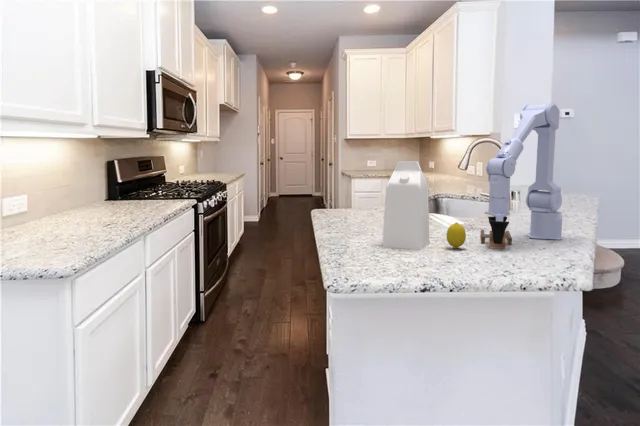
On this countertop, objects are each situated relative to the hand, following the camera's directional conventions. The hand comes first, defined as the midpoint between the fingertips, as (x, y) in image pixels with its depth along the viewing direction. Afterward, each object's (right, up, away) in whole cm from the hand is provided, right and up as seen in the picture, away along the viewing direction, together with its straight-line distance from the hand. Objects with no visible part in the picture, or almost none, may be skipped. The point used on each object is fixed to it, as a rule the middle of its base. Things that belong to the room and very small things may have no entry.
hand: (497, 241), depth 148 cm
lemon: (-14, -2, -4) cm, 14 cm away
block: (0, -2, 0) cm, 2 cm away
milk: (-28, -1, +3) cm, 28 cm away
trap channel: (+3, 0, +10) cm, 10 cm away
